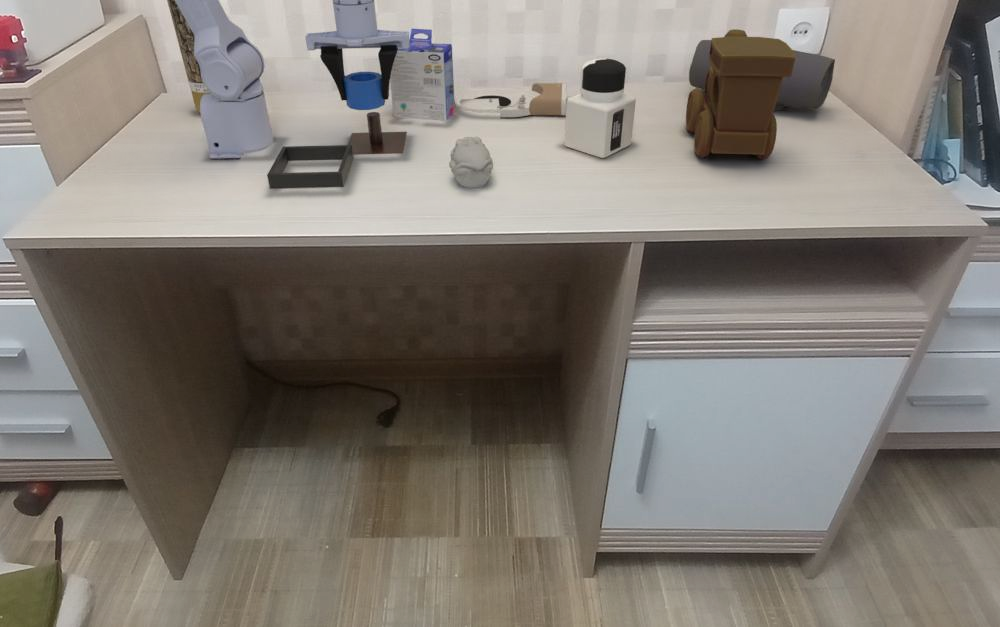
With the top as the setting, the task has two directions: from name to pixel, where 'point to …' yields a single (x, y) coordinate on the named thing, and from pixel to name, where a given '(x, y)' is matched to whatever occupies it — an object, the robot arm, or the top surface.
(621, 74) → the container
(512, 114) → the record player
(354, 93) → the tape roll
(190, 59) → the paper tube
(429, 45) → the ink cartridge box
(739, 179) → the top surface
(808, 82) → the bluetooth speaker
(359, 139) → the tape holder
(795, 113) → the top surface
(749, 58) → the wooden toy train
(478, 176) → the frog figurine
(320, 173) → the tray
